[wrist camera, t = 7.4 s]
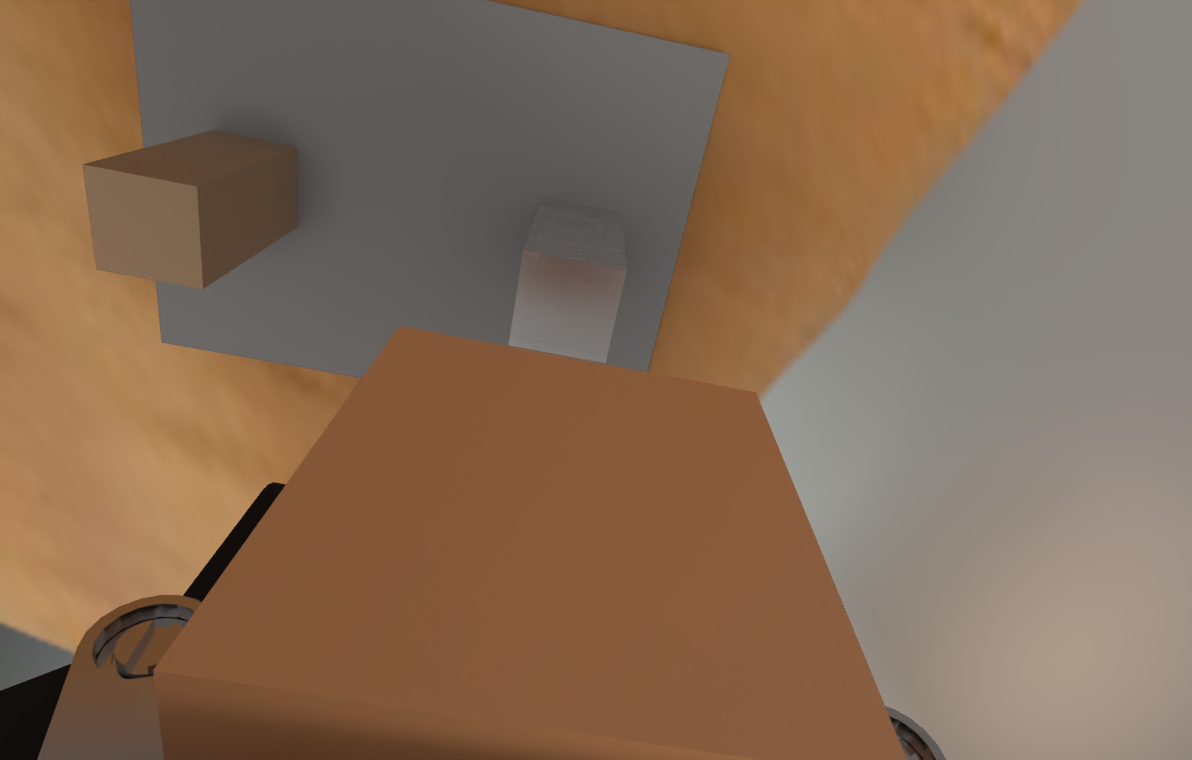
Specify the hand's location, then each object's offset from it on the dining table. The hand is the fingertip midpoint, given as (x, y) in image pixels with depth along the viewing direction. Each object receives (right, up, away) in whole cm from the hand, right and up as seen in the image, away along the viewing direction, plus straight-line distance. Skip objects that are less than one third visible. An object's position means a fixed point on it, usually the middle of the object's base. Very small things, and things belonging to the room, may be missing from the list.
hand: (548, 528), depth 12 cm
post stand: (-6, +9, +16) cm, 19 cm away
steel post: (0, +8, +15) cm, 17 cm away
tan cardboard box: (0, 0, +1) cm, 1 cm away
